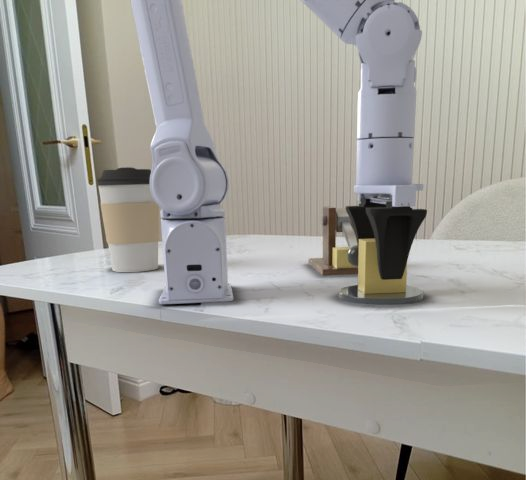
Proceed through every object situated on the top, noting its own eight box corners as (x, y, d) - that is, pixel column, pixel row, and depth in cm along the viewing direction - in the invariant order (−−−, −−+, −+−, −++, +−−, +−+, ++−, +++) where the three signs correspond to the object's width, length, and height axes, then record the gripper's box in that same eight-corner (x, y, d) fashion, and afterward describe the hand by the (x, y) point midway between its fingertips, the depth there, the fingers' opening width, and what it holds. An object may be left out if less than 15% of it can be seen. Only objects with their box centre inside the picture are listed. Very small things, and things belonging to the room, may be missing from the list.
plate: (435, 304, 60) (436, 296, 60) (349, 308, 60) (349, 300, 59) (407, 289, 69) (407, 282, 69) (331, 292, 68) (331, 285, 68)
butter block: (365, 267, 80) (366, 248, 79) (336, 268, 79) (336, 249, 79) (360, 264, 82) (360, 246, 82) (332, 265, 82) (332, 247, 81)
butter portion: (405, 292, 63) (408, 240, 61) (364, 294, 63) (365, 241, 61) (397, 287, 66) (399, 237, 64) (357, 289, 65) (358, 238, 64)
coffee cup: (167, 271, 88) (160, 165, 83) (104, 274, 86) (94, 166, 81) (162, 263, 96) (155, 167, 92) (105, 266, 94) (95, 168, 90)
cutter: (381, 274, 80) (383, 207, 77) (322, 277, 79) (322, 209, 76) (359, 262, 91) (360, 204, 89) (308, 264, 90) (308, 205, 88)
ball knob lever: (370, 270, 75) (373, 251, 73) (348, 271, 75) (350, 252, 73) (349, 223, 85) (352, 205, 83) (330, 224, 85) (332, 206, 83)
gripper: (451, 133, 53) (442, 283, 57) (401, 143, 67) (396, 262, 71) (374, 134, 53) (370, 285, 56) (340, 144, 67) (338, 264, 70)
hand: (380, 273), depth 64 cm, fingers open, 7 cm apart
